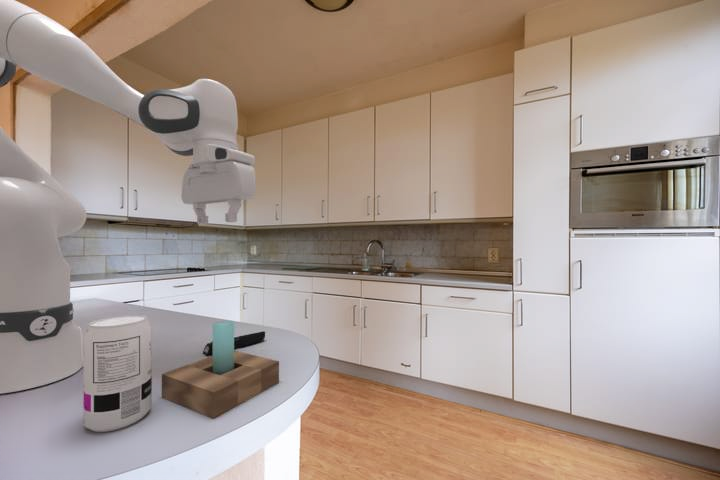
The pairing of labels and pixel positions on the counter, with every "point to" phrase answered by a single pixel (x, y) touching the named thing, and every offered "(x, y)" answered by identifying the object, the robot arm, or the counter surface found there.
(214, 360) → the peg
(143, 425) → the counter surface
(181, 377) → the socket block
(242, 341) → the electric trimmer
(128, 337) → the supplement can
